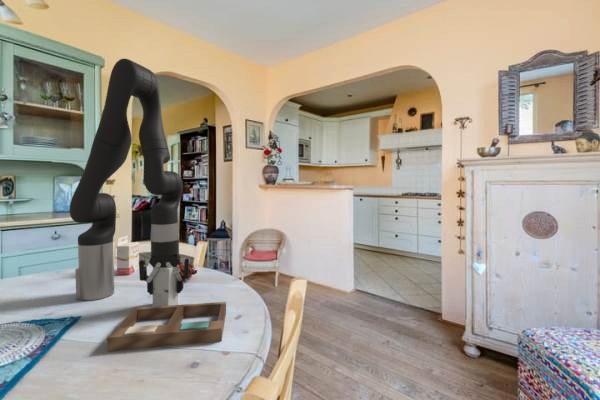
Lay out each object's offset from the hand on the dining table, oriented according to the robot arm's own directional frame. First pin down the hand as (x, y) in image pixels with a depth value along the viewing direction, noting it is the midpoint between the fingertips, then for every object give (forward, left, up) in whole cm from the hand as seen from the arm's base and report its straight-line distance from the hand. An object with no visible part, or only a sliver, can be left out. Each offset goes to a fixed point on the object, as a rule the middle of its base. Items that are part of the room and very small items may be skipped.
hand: (165, 292), depth 84 cm
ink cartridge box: (-24, +37, -4) cm, 44 cm away
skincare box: (0, 0, -4) cm, 4 cm away
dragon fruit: (0, +24, -4) cm, 24 cm away
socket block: (+6, -15, -4) cm, 17 cm away
